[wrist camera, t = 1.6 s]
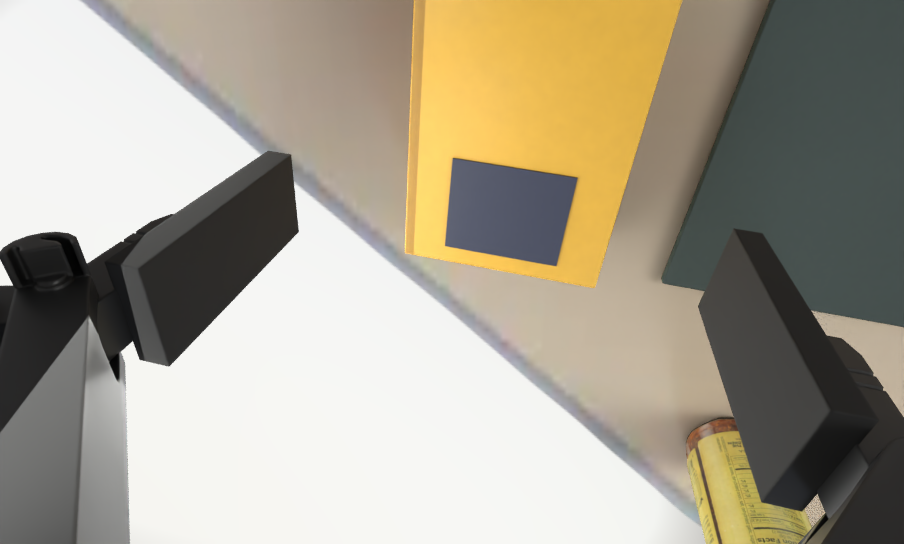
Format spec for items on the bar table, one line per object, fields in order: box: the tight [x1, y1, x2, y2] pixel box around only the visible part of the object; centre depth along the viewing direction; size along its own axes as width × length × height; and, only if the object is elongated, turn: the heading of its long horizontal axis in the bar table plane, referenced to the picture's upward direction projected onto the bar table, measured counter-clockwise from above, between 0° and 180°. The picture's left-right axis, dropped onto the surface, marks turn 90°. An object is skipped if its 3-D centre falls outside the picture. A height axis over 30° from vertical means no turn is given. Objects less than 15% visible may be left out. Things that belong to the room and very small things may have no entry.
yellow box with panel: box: [405, 0, 682, 288], centre depth 25 cm, size 16×10×6 cm, turn 175°
